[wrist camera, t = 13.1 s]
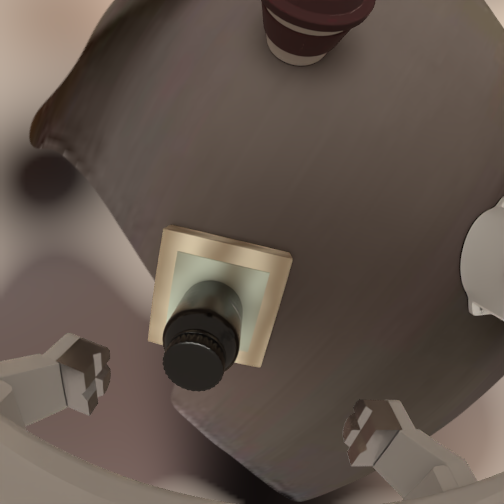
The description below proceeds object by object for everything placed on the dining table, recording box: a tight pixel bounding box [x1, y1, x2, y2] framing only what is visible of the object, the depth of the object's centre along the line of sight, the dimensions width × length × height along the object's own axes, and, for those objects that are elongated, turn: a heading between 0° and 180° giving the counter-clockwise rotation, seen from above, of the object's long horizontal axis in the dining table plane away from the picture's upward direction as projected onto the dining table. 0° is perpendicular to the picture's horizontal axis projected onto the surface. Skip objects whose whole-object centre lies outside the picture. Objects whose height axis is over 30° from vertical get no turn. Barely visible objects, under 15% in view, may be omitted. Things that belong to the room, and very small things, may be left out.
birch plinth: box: [148, 225, 293, 367], centre depth 35 cm, size 14×14×3 cm
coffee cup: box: [261, 0, 376, 66], centre depth 22 cm, size 10×10×15 cm
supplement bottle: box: [162, 280, 243, 391], centre depth 27 cm, size 7×7×12 cm
